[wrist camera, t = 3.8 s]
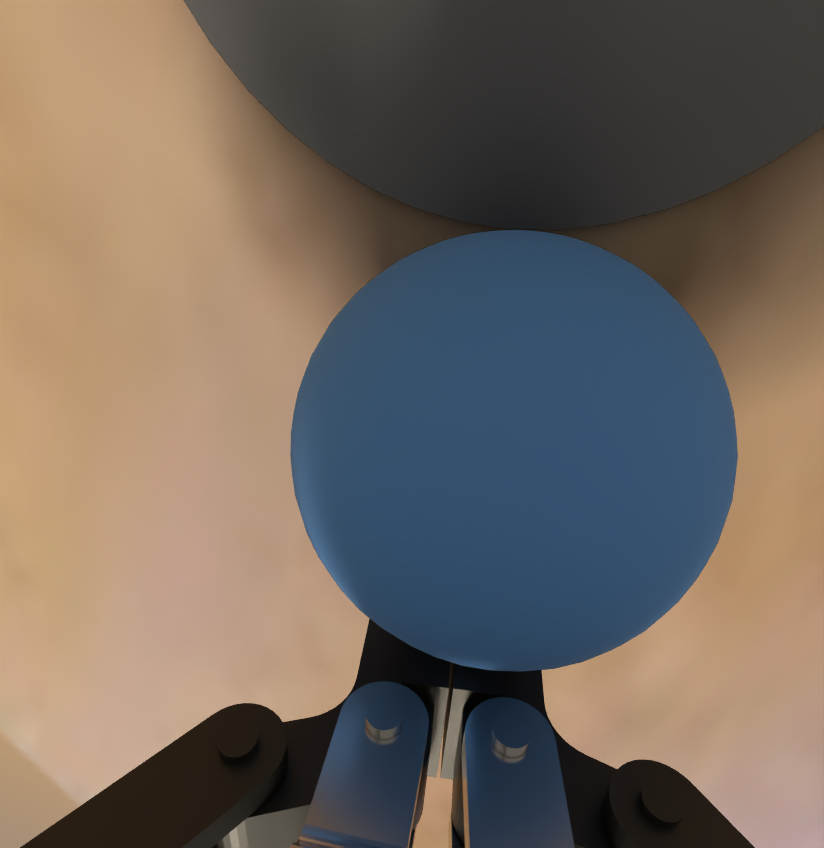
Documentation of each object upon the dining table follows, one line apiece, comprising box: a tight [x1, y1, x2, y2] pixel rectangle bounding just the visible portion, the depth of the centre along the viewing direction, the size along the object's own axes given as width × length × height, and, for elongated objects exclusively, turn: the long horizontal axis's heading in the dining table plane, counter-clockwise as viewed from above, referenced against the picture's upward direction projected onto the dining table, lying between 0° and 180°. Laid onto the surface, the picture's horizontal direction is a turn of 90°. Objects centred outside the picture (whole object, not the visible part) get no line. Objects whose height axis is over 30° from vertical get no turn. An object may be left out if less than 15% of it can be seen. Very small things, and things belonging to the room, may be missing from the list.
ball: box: [291, 230, 738, 671], centre depth 9 cm, size 6×6×6 cm
